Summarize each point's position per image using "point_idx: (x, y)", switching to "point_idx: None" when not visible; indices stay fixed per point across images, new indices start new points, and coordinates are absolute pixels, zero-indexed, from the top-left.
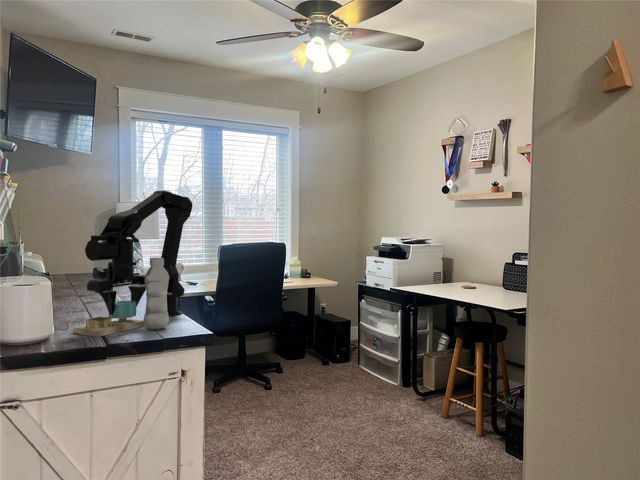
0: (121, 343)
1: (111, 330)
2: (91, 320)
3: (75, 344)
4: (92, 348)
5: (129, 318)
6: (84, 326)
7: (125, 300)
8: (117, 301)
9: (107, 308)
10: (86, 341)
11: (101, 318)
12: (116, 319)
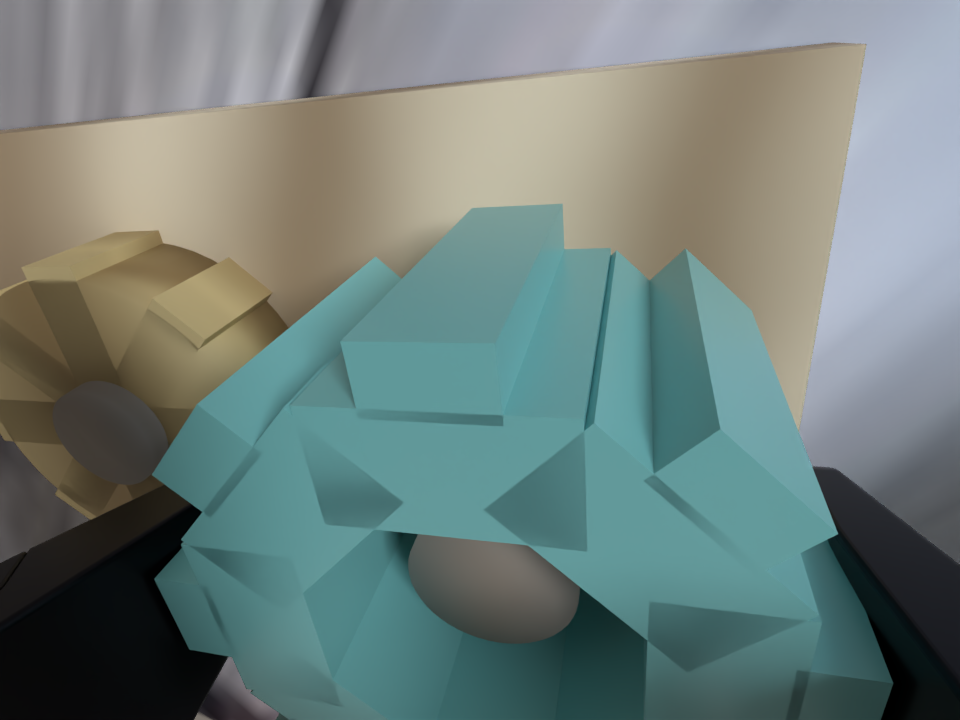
0: (240, 709)
1: None
2: (27, 429)
3: (6, 521)
4: None
5: (777, 306)
6: (49, 244)
7: (770, 543)
8: (456, 473)
9: (163, 496)
10: (75, 521)
11: (134, 479)
12: (577, 188)
